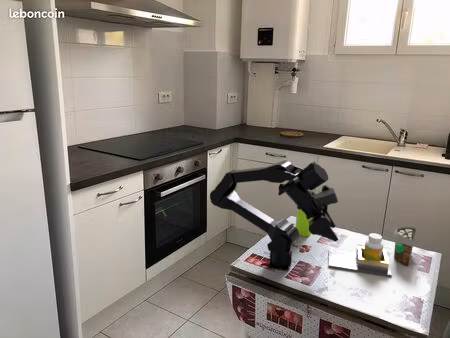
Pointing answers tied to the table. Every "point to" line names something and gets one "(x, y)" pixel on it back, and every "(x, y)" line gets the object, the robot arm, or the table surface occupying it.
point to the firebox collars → (359, 262)
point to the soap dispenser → (302, 223)
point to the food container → (404, 244)
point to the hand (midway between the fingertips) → (335, 233)
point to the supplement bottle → (373, 247)
